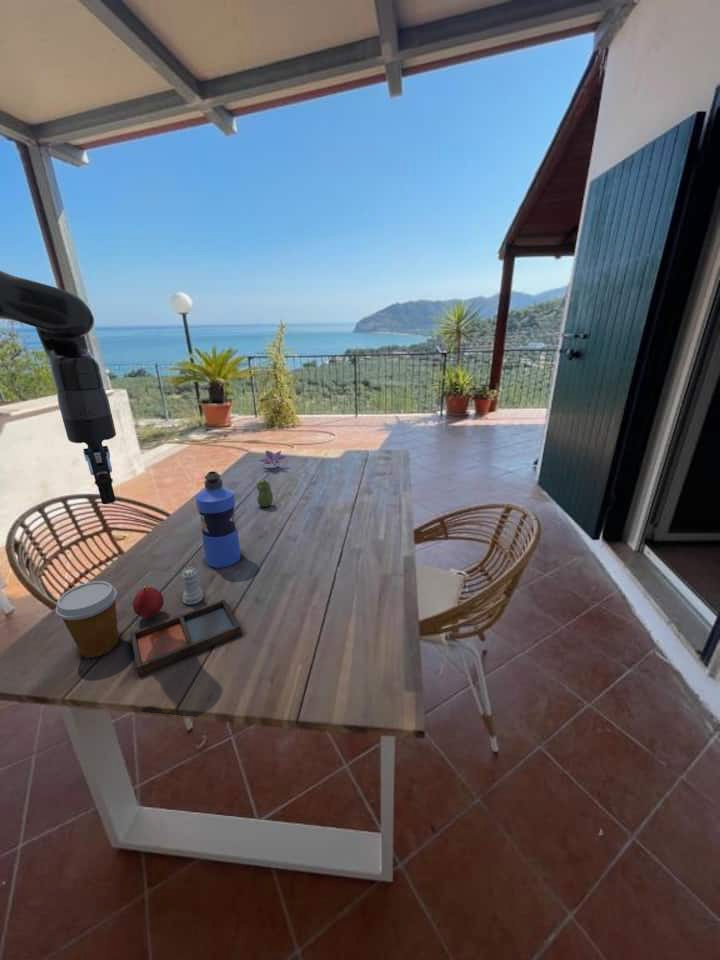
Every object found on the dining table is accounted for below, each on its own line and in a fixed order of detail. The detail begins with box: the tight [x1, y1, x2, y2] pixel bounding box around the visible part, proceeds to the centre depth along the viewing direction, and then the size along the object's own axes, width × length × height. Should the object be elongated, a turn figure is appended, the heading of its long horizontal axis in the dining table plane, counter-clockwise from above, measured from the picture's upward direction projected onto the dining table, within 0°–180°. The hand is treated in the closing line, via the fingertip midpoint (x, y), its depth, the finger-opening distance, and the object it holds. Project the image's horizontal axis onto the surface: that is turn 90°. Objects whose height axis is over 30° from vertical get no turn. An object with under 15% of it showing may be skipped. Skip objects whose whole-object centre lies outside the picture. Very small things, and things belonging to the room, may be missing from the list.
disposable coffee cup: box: [55, 580, 119, 658], centre depth 74 cm, size 10×10×12 cm
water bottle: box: [195, 471, 242, 569], centre depth 102 cm, size 9×9×25 cm
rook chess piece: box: [181, 566, 205, 606], centre depth 89 cm, size 4×4×8 cm
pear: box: [256, 479, 274, 508], centre depth 138 cm, size 6×5×10 cm
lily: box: [259, 450, 288, 473], centre depth 177 cm, size 12×12×10 cm
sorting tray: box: [129, 598, 242, 677], centre depth 78 cm, size 19×11×2 cm, turn 125°
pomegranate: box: [132, 585, 165, 619], centre depth 83 cm, size 6×6×8 cm
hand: (107, 495), depth 76 cm, fingers open, 8 cm apart
